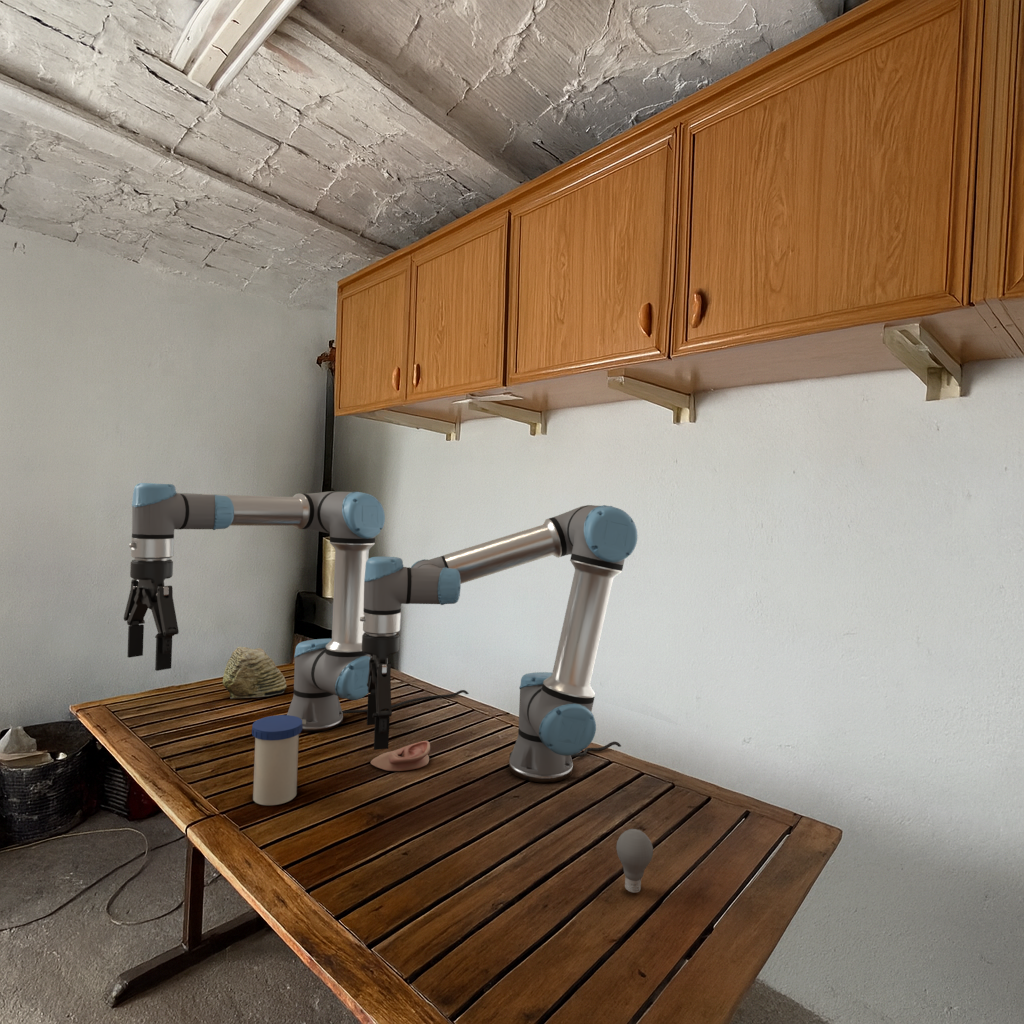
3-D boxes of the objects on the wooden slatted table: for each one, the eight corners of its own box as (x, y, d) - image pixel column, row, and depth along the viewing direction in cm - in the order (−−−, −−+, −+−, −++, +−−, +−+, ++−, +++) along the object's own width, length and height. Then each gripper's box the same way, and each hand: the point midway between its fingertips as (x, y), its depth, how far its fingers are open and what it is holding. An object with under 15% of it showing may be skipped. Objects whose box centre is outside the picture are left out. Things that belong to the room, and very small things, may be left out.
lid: (308, 724, 138) (308, 715, 138) (293, 741, 128) (293, 732, 128) (262, 722, 138) (263, 714, 138) (243, 739, 128) (244, 730, 128)
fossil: (218, 695, 195) (220, 647, 195) (278, 685, 208) (279, 640, 207) (228, 703, 189) (230, 653, 188) (289, 692, 201) (290, 645, 201)
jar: (302, 786, 138) (304, 718, 138) (288, 806, 129) (291, 733, 129) (262, 785, 138) (264, 717, 137) (245, 804, 129) (248, 731, 129)
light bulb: (610, 879, 108) (613, 822, 108) (644, 879, 109) (647, 822, 109) (619, 902, 102) (622, 840, 102) (655, 901, 103) (658, 840, 103)
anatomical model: (365, 751, 148) (384, 733, 160) (364, 767, 148) (384, 749, 160) (419, 758, 146) (435, 740, 157) (418, 775, 146) (434, 756, 157)
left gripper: (108, 554, 134) (104, 654, 134) (159, 565, 118) (155, 678, 119) (146, 552, 140) (143, 648, 140) (199, 563, 124) (195, 671, 124)
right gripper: (357, 621, 140) (353, 716, 140) (368, 647, 116) (364, 762, 117) (391, 620, 142) (387, 714, 143) (409, 646, 119) (404, 758, 119)
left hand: (148, 662), depth 129 cm, fingers open, 13 cm apart
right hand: (377, 735), depth 130 cm, fingers open, 13 cm apart
